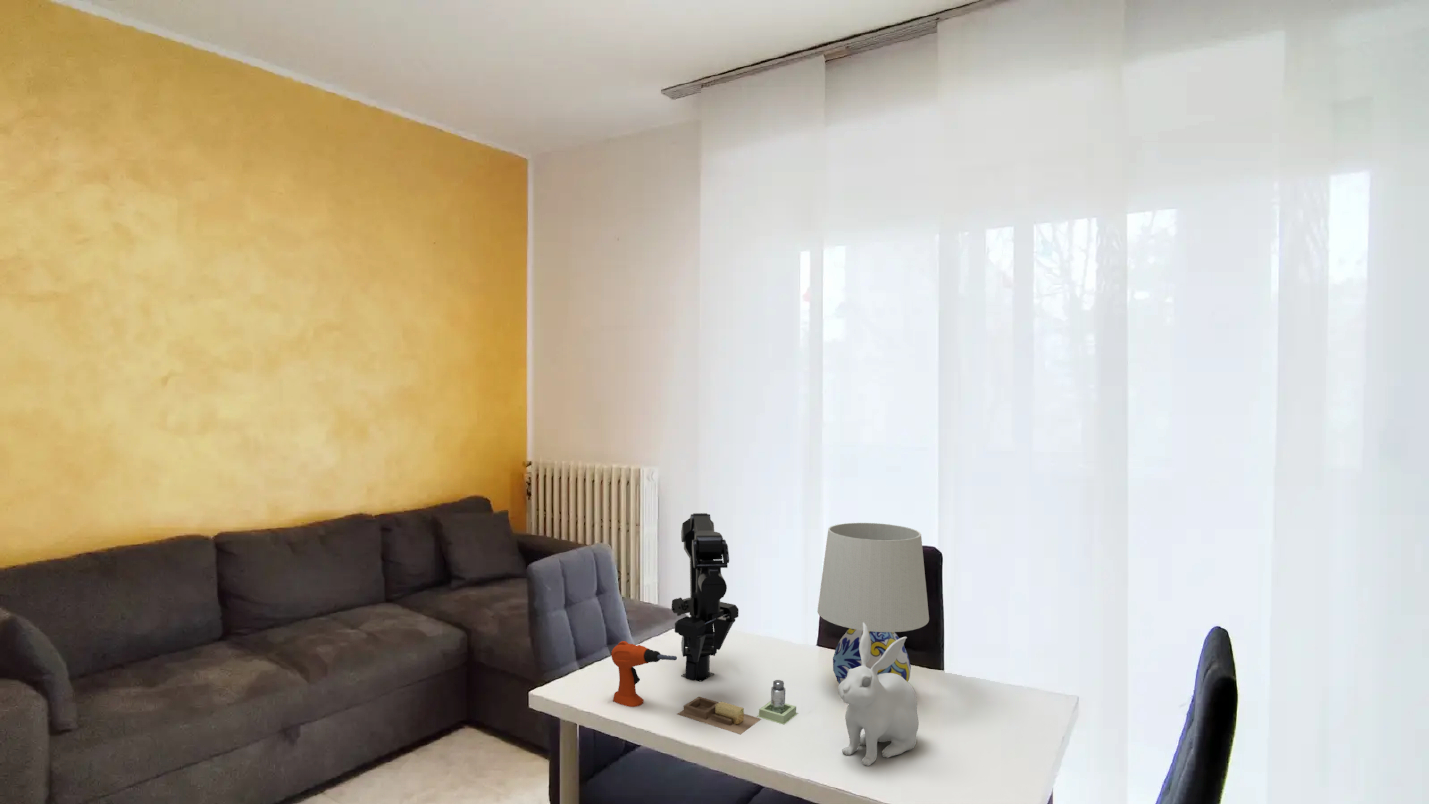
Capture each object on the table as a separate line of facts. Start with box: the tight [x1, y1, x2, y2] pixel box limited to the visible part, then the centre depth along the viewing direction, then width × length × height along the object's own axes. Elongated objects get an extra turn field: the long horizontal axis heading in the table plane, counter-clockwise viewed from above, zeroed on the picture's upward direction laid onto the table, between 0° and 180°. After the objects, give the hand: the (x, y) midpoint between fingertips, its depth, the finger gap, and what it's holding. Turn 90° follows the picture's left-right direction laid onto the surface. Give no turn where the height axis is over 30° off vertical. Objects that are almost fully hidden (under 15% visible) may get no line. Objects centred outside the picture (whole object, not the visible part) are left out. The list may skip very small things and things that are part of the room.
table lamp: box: [817, 522, 930, 685], centre depth 182 cm, size 27×27×40 cm
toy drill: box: [610, 640, 678, 708], centre depth 170 cm, size 5×19×15 cm, turn 60°
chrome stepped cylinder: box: [770, 679, 786, 714], centre depth 166 cm, size 3×3×8 cm
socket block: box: [676, 696, 762, 735], centre depth 165 cm, size 9×17×2 cm, turn 57°
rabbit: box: [837, 622, 920, 767], centre depth 152 cm, size 12×21×25 cm, turn 128°
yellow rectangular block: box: [715, 701, 745, 724], centre depth 164 cm, size 2×6×3 cm, turn 57°
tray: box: [756, 700, 799, 726], centre depth 167 cm, size 7×7×2 cm
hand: (707, 655), depth 171 cm, fingers open, 9 cm apart
